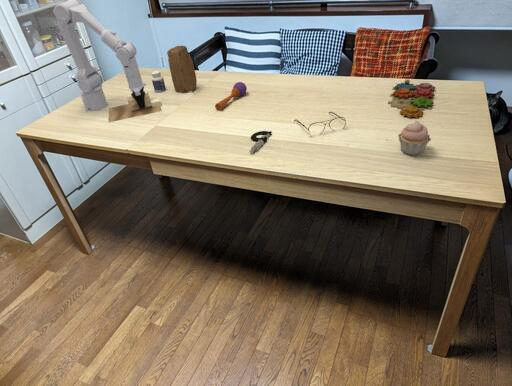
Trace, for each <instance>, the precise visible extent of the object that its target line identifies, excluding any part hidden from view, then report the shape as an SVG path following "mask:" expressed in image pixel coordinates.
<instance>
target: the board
mask: <svg viewBox="0 0 512 386" xmlns="http://www.w3.org/2000/svg"><path fill="white" fill-rule="evenodd" d="M157 98H158V97H155V98H154V99H157ZM152 99H153V98H150V100H152ZM159 112H162V105H161V106H157V107H150V108H146V109H142V110H138V111H134V112H131V109H130V106H129V104H128V103H127V104H121V105H117V106H114V107H113V106H112V107H108V123H113V122H117V121H123V120H126V119H133V118H136V117H141V116H145V115H150V114H154V113H159Z"/></svg>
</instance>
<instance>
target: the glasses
mask: <svg viewBox="0 0 512 386" xmlns="http://www.w3.org/2000/svg"><path fill="white" fill-rule="evenodd" d="M330 113H331V114H333V115H334V116H336V117H335V118H333V119H329V120H323V121H318V122H317V121H315V122H314V123H311V124H309V125H308V128H307V126H306V125H304V124H303V123H302V122H300V121H299V120H298V119H294V120H293V121H294V122H295V121H296V122H297V123H299V124H300V125H301V126H302V127H304V128H305V129H306V130H308V133H309V135H311V134H310V133H311V132H310V127H311V126H312V125H314V124H319V123H322V124H324V128H323V130H322V131H321V132H320V133H319V135H321V134H322V133H323V132H324V131H325V129H326V125H327V122H328V121H329V122H328V127H329V128H330V129H331V130H332V131H336V130H334V129H332V127H331V125H330V124H331V122H332V121H334V120H337V119H340V120H342V121H343V122H345V123H344V126H343V128H345V126H346V123H347V122H346V118H345V117H343V116H339V115H338V114H337V113H335V112H333V111H329V112H328V114H330ZM325 122H326V123H325Z"/></svg>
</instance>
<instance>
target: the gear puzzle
mask: <svg viewBox="0 0 512 386" xmlns="http://www.w3.org/2000/svg"><path fill="white" fill-rule="evenodd" d="M435 89H436V86H434V85H433V84H431V83H428V82H421V83H419V84H416V85H414V83H411V81H410V79H405V80H404V82H400V83H396V85H395V86H392V90H394V91H393V92H392V93H390V96H389V97H390V98H392V100H388V102H387V105H390V108H396V109H397V110H400V111H399V114H401V115H402V117H407V118H409V119H410V118H416V119H417V118H418V117H422V116H423V115H424V111H425V110H430V111H431V110H432V109H433V105H434V104H435V102H434V101H433V100H434V97H435V93H434V92H435Z"/></svg>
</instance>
